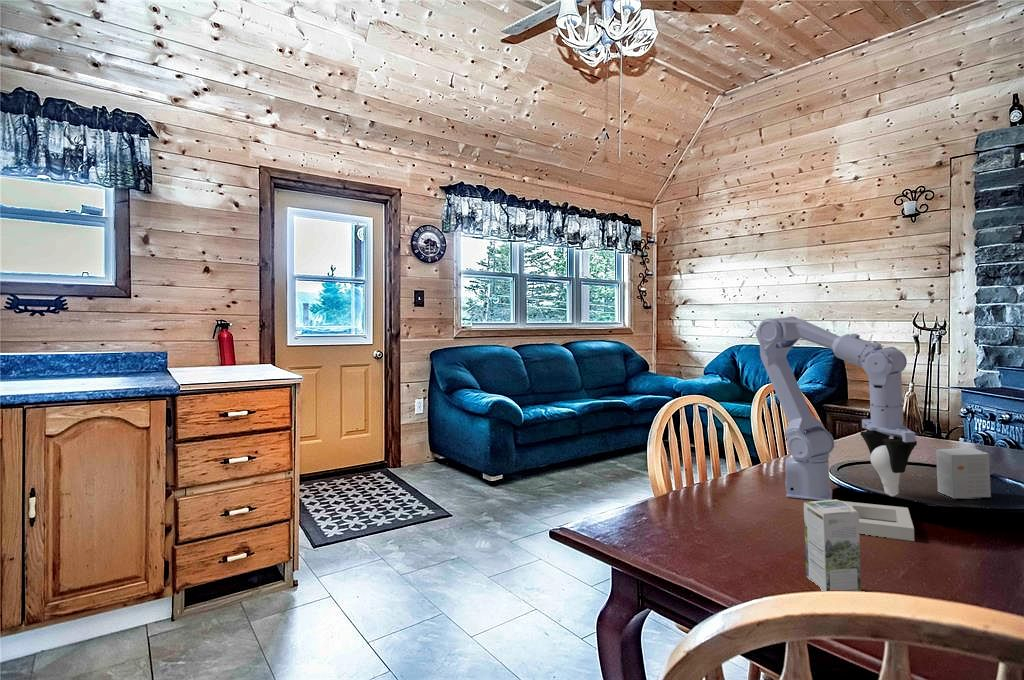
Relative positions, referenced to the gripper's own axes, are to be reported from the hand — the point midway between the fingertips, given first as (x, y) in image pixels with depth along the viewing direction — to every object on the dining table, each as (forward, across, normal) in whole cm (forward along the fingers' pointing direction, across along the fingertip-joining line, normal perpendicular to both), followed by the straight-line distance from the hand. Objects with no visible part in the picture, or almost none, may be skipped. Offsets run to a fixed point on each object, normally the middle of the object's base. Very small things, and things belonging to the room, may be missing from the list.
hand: (888, 468), depth 118 cm
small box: (+11, -9, +22) cm, 26 cm away
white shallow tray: (+10, +5, -6) cm, 13 cm away
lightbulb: (+6, 0, +1) cm, 6 cm away
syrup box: (+11, +30, -28) cm, 43 cm away
